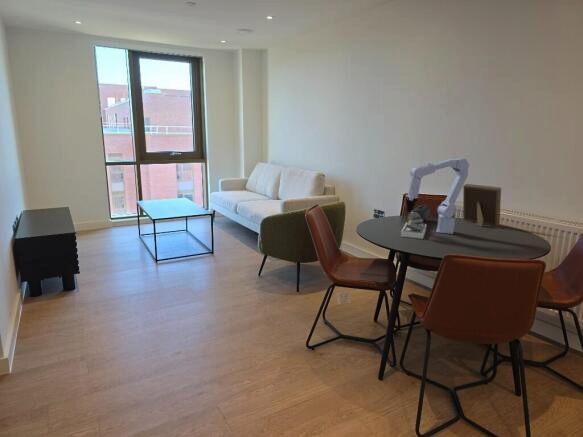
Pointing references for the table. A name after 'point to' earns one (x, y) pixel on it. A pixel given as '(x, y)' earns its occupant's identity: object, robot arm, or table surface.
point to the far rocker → (417, 221)
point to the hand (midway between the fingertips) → (409, 211)
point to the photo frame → (481, 204)
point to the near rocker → (413, 226)
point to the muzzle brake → (419, 213)
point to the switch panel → (413, 232)
